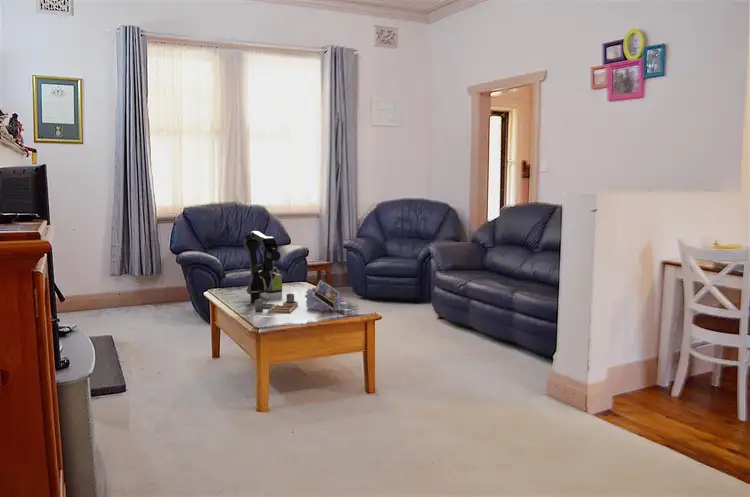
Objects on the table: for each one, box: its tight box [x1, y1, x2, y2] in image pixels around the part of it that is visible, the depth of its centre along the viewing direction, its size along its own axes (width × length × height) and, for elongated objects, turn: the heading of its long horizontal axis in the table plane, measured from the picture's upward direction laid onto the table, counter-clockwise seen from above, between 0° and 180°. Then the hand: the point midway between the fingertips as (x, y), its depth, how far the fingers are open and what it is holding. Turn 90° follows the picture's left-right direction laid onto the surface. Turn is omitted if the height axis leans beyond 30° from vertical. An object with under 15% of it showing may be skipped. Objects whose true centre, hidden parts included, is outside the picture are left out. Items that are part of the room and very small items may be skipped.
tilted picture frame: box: [304, 279, 342, 313], centre depth 361 cm, size 20×22×18 cm
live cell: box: [265, 278, 273, 291], centre depth 360 cm, size 4×4×8 cm
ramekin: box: [282, 300, 299, 308], centre depth 367 cm, size 8×8×3 cm
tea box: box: [260, 272, 283, 300], centre depth 399 cm, size 15×10×15 cm, turn 37°
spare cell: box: [254, 298, 264, 313], centre depth 352 cm, size 4×4×8 cm
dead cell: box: [285, 292, 295, 303], centre depth 367 cm, size 4×4×8 cm
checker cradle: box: [263, 303, 282, 311], centre depth 363 cm, size 12×10×2 cm
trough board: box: [268, 304, 296, 314], centre depth 356 cm, size 14×12×2 cm
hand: (268, 287), depth 360 cm, fingers closed on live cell, 4 cm apart
